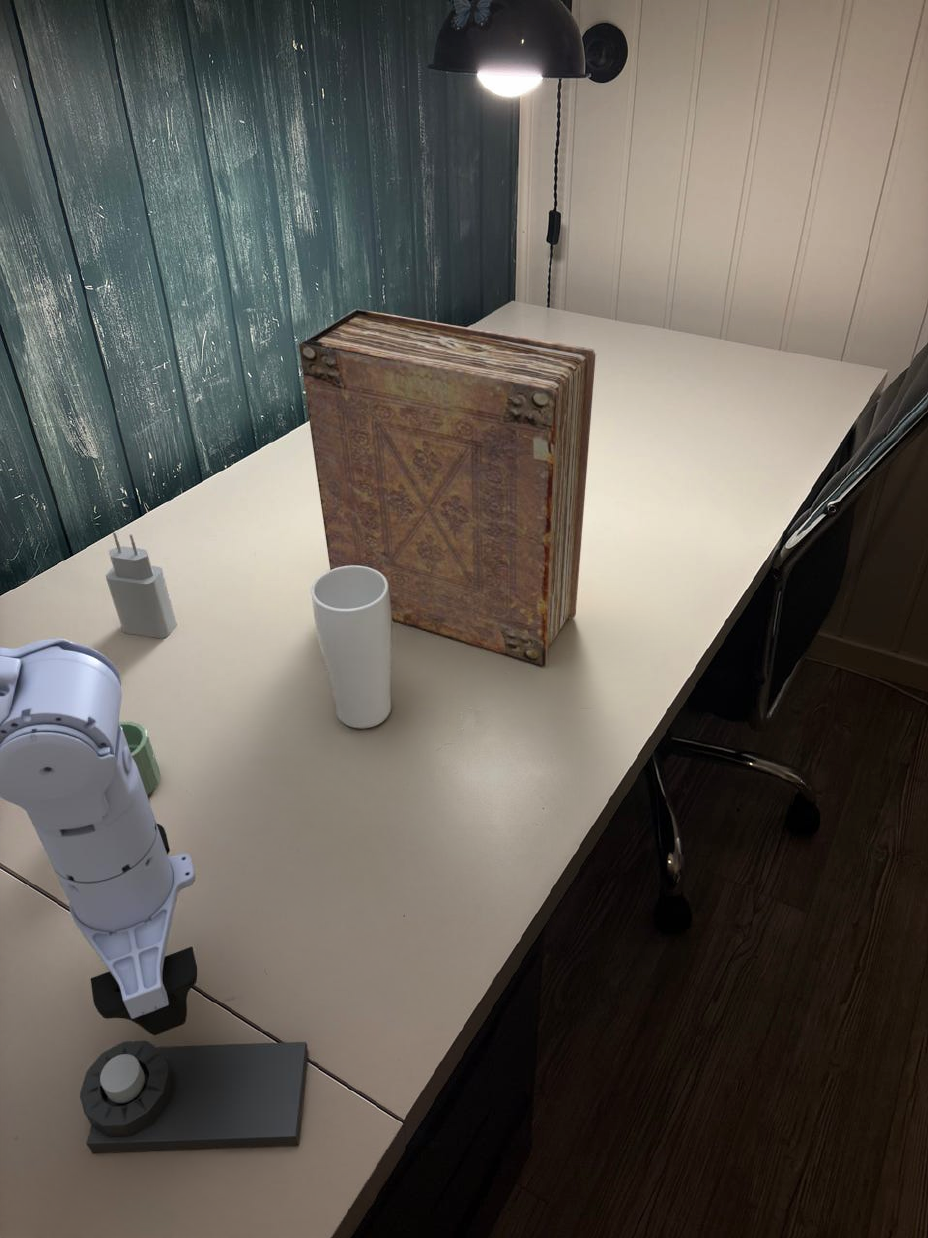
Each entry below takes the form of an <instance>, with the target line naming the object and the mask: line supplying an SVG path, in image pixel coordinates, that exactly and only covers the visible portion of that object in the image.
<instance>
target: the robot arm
mask: <svg viewBox="0 0 928 1238" xmlns="http://www.w3.org/2000/svg"><path fill="white" fill-rule="evenodd" d="M122 692H123V691H122V678H121V675H120V673H119V671H118V669H117V667H116V666H115V664H114V663H113V662H112V661H111V660H110V659H109V658H108V657H107V656H106V655H104V654H103V653H101V652H100V651H99V650H96V649H94V648H92V647H90V646H87V645H85V644H80V643H76V642H72V641H71V640H68V639H65V638H47V639H40V640H37V641H33V642H30V643H27V644H26V645H23V646H20V647H15V648H9V647H8V648H7V647H0V798H1V799H2V800H5V801H7V802H9V803H10V804H14V805H16V806H18V807H20V808H22V809H23V810H24V811H25V812H26V814H27V816H28V818H29V820H30V822H31V824H32V827H33V828H34V830H35V832H36V835H37V836H38V838H39V841H40V843H41V846H42V847H43V849H44V851H45V853H46V855H47V858H48V859H49V861H50V864H51V866H52V868H53V870H54V872H55V875H56V877H57V879H58V881H59V883H60V886H61V887H62V889H63V891H64V894H65V896H66V898H67V900H68V908H69V912H70V915H71V918H72V919H73V921H74V924H75V925H76V927H77V928H78V929H79V931H80V932H81V933H82V935H83V937H84V939H86V941H87V942H88V943H89V945H90V946H91V947H92V949H93V950H94V951H95V954H97V956H98V957H99V959H100V960H101V961H102V963H103V965H104V966H105V968H106V969H107V970H108V971H106V972H103V973H101V974H98V975H96V976H93V977H90V985H91V994H92V1001H93V1004H94V1008H95V1009H96V1011H97V1012H98V1013H99V1014H100V1016H101V1017H102V1018H103V1019H106V1020H108V1019H124V1020H129V1021H131V1022H133V1023H134V1024H136V1025H138V1026H139V1027H141V1028H142V1029H143V1030H145V1032H147V1033H149V1035H150V1034H151V1035H152V1036H157V1035H160V1034H162V1033H165V1032H167V1031H171V1030H173V1029H176V1028H177V1027H180V1026H182V1025H184V1024H186V1021H187V1016H188V1015H187V1014H188V1003H187V1002H188V1001H187V1000H188V996H189V995H188V994H189V992H190V990H191V989H192V988H193V987H194V986H195V985H196V984H197V982H198V981H197V980H198V965H197V961H196V956H195V951H194V947H193V946H189V947H187V948H184V949H181V950H178V951H175V952H173V953H170V954H168V955H166V953H167V950H168V949H167V948H168V945H169V938H170V934H171V930H172V924H173V920H174V916H175V915H174V914H175V910H176V905H177V900H178V896H179V893H180V892H181V890H184V889H185V888H189V887H191V886H192V885H194V883H195V882H196V879H197V875H196V872H195V867H194V863H193V860H192V857H191V856H190V855H189V854H187V853H180V854H177V855H169V854H170V851H171V849H170V845H169V840H168V836H167V832H166V830H165V827H164V826H163V825H161V824H160V823H157V820H156V818H155V814H154V811H153V808H152V806H151V803H150V800H149V797H148V796H147V794H146V791H145V788H144V785H143V782H142V779H141V776H140V774H139V771H138V768H137V765H136V763H135V761H134V759H133V758H132V756H131V753H130V750H129V747H128V744H127V741H126V738H125V735H124V732H123V730H122V727H121V726H120V725H119V724H118V723H119V722H120V714H121V707H122V706H121V705H122V696H123V694H122Z"/></svg>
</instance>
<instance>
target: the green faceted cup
mask: <svg viewBox="0 0 928 1238" xmlns="http://www.w3.org/2000/svg"><path fill="white" fill-rule="evenodd" d="M118 724H119V725H120V726H121V727H122V730H123V732H124V735H125V738H126V741H127V744H128V747H129V750H130V753H131V756H132V758H133V759H134V761H135V763H136V765H137V768H138V771H139V774H140V776H141V779H142V782H143V785H144V788H145V791H146V794H147V797H148V796H149V795H150V794H152V792H153V791H154V790H155V789H156V787H157V785H158V784H159V782H160V778H161V773H160V769H159V765H158V762H157V759H156V756H155V753H154V751H153V747H152V744H151V741H150V737H149V735H148V732H147V729H146V728H145V727H144V726H143V725H141V724H140V723H137V722H134V721H129V720H128V721H119V723H118Z"/></svg>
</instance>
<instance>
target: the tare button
mask: <svg viewBox="0 0 928 1238" xmlns="http://www.w3.org/2000/svg"><path fill="white" fill-rule="evenodd" d="M100 1082H101V1086H102V1087H103V1089H104V1091H105V1093H106V1094H107V1096H108V1098H109V1099H110V1100H111V1101H113V1102H115V1103H126V1102H129V1101H131V1100H133V1099H134V1098H135V1097H137V1096H138V1095H139V1093H140V1092H141V1091H142V1089H143V1087H144V1084H145V1074H144V1072H143V1070H142V1068H141V1066H140V1064H139V1062H138V1060H137V1059H136V1058H135V1057H134V1056H132V1055H129V1054H122V1055H118V1056H116V1057H114V1058H112V1059H111V1060H110V1061H109V1062H108V1063H107V1064H106V1065H105V1066H104V1068H103V1070H102V1072H101V1076H100Z"/></svg>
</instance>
